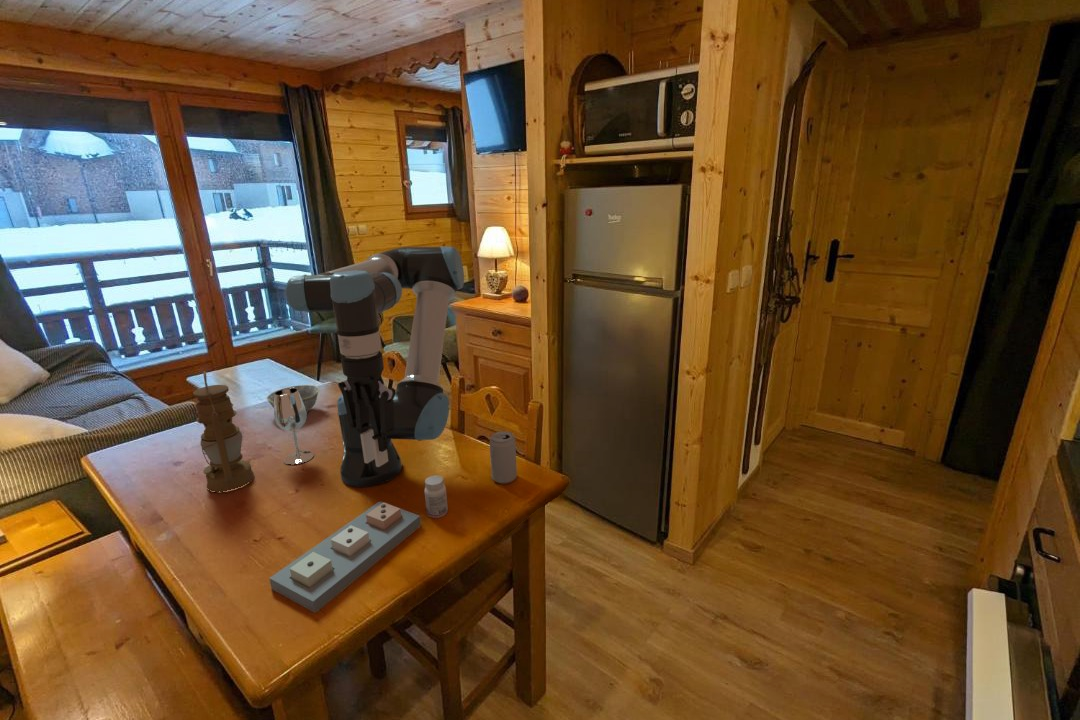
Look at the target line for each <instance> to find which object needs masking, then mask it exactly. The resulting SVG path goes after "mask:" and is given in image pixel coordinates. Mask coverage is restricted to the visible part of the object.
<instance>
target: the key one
mask: <svg viewBox="0 0 1080 720" xmlns="http://www.w3.org/2000/svg"><path fill="white" fill-rule="evenodd" d="M289 569H290V573H291V578H292V580H294V581H296V582H298V583H300V584H302V585H303V586H305V587H307V588H310V587H312V586H313V585H314V584H316V583H317V582H318V581H320V580H321V579H322V578H323V577H325V576H326V575H327V574H329V573H330V572H331V571H333V568H332V562H331V560H330V559H328V558H325V557H323V556H321V555H319V554H317V553H315V552H312V553H311V554H309V555H308V556H306V557H305V558H304V559H302V560H301V561H299V562H298V563H297V564H295V565H294V566H292V567H291V568H289Z"/></svg>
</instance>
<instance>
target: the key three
mask: <svg viewBox="0 0 1080 720" xmlns="http://www.w3.org/2000/svg"><path fill="white" fill-rule="evenodd" d="M382 502H383V501H382ZM401 509H402V508H400V507H397V506H396V505H395V506H394V505H392V504H390V503H387V502H383V503H382V504H380V505H379V506H378V507H376V508H375V509H373V510H372V511H370V512H369V513H368V514H366V518H367V524H369V525H371V526H374V527H376V528H379V529H381V530H384V531H385V530H386V529H387V528H388V527H390V526H391V525H392V524H394V523H395V522H396V521H398V520H399V519H400V518H401Z"/></svg>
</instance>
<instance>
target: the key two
mask: <svg viewBox="0 0 1080 720" xmlns="http://www.w3.org/2000/svg"><path fill="white" fill-rule="evenodd" d="M369 542H370V540H369V533H368V532H366V531H364V530H361V529H359V528H356V527H354V526H352V525H351V526H349V527H348V528H346V529H345V530H343V531H342V532H341V533H339V534H338V535H336V536H335V537H333V538H332V539H331V544H332V550H335V551H337V552H339V553H341V554H343V555H346V556H348V557H351V556H352V555H353V554H355V553H356V552H357V551H359V550H360V549H361V548H362V547H364V546H365V545H366V544H368V543H369Z"/></svg>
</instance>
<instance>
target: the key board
mask: <svg viewBox="0 0 1080 720" xmlns="http://www.w3.org/2000/svg"><path fill="white" fill-rule="evenodd" d="M382 503H383V501H378V502H377V503H375V504H373V505H372V506H371V507H369V508H368V509H366V510H365V511H364V512H363V513H361V514H359V515H358V516H356V517H355V518H354V519H352V520H351V521H349V522H348V523H346V524H345V525H343V526H342V527H341V528H339V529H338V530H336V531H335V532H334V533H332V534H331V535H329V536H328V537H326V538H325V539H323V540H322V541H321V542H319V543H318V544H316V545H315V546H314V547H312V548H310V549H309V550H307V551H306V552H304V553H303V554H302V555H300V556H299V557H297V558H296V559H295V560H293V561H291V562H290V563H288V564H287V565H286V566H285V567H283V568H282V569H280V570H278V571H277V572H276V573H274V574H273V575H271V576H270V577H269V578H268V579H269V583H270V587H271V590H273V591H274V592H276V593H278V594H280V595H281V596H283V597H285V598H287V599H289V600H291V601H292V602H294V603H296V604H298V605H300V606H301V607H304V608H305V609H307V610H309V611H311V612H313V613H315V614H316V613H317V612H319V610H321V609H322V608H324V606H326V605H327V604H328V603H329V602H330V601H332V600H333V599H334V598H335V597H337V596H338V595H339V594H340V593H341V592H343V591H344V590H346V588H347V587H349V586H350V585H351V584H352V583H353V582H355V581H356V580H357V579H359V578H360V577H361V576H362V575H364V574H365V573H366V572H368V571H369V569H370V568H372V567H373V566H374V565H375V564H377V563H378V562H379V561H380V560H382V559H383V558H384V557H385V556H386V555H387V554H389V553H390V552H391V551H393V549H395V548H396V547H398V545H400V544H401V543H402V542H403V541H404V540H406V538H408V537H409V536H410V535H411V534H413V533H414V532H415V531H416V530H417V529H419V528H420V527H421V526H422V523H421V520H422V519H421V515H419V514H416V513H413V512H410V511H408V510H405V509H403V508H400V509H401V518H400V519H399V520H398V521H396V522H395V523H394V524H392V525H391V526H390V527H388V528H387V529H386V530H385V531H384V530H381V529H379V528H376V527H374V526H371V525H369V524H367V518H366V514H368V513H369V512H370V511H372V510H373V509H375V508H376V507H378V506H379V505H380V504H382ZM351 525H352V526H354V527H356V528H359V529H361V530H364V531H366V532H368V533H369V540H370V542H369V543H368V544H366V545H365V546H364V547H362V548H361V549H360V550H359V551H357V552H356V553H355V554H353V555H352V556H351V557H348V556H346V555H343V554H341V553H339V552H337V551H335V550H332V544H331V539H332V538H333V537H335V536H336V535H338V534H339V533H341V532H342V531H343V530H345V529H346V528H348V527H349V526H351ZM312 552H315V553H317V554H319V555H321V556H323V557H325V558H328V559H330V560H331V562H332V568H333V571H331V572H330V573H329V574H327V575H326V576H325V577H323V578H322V579H321V580H320V581H318V582H317V583H316V584H314V585H313V586H312V587H310V588H307V587H305V586H303V585H302V584H300V583H298V582H296V581H294V580H292V578H291V573H290V569H289V568H291V567H292V566H294V565H295V564H297V563H298V562H299V561H301V560H302V559H304V558H305V557H306V556H308V555H309V554H311V553H312Z"/></svg>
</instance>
